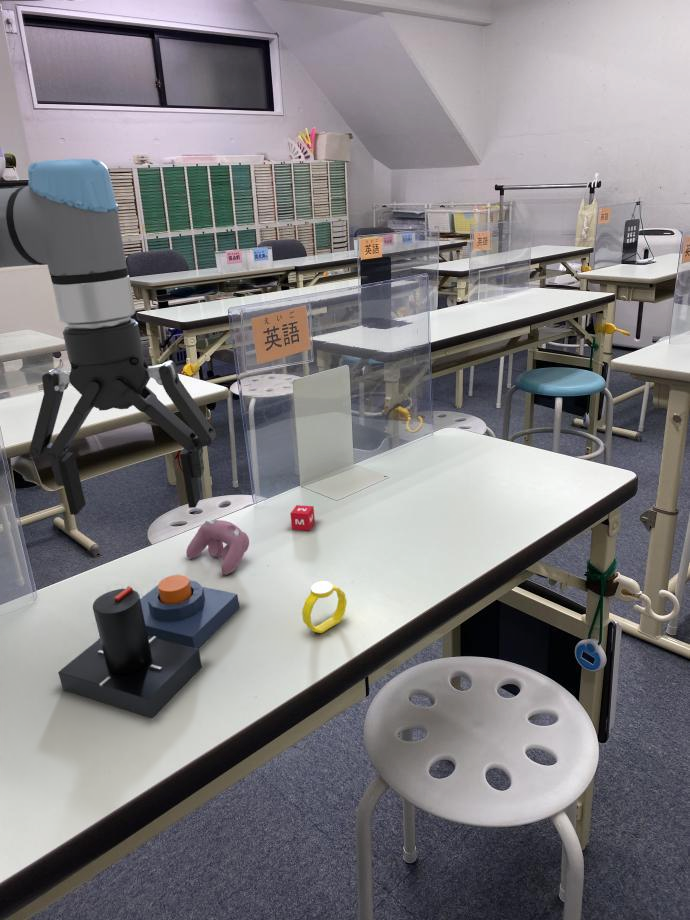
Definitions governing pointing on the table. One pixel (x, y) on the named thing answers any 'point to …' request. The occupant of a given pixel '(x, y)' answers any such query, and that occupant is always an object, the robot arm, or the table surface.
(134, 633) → the dial
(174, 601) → the button
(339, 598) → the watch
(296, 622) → the table surface
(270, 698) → the table surface
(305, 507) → the red letter cube
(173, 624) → the button base
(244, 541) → the video game controller
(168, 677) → the dial panel
